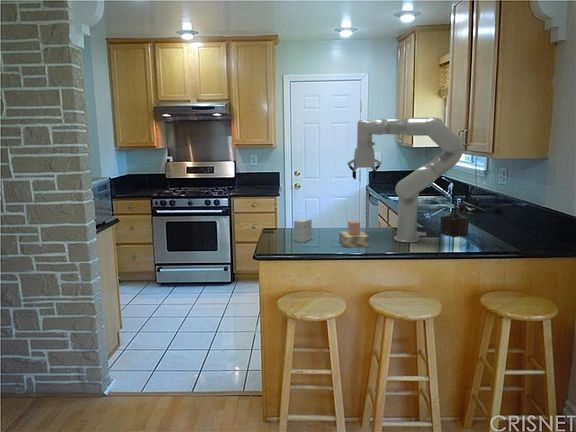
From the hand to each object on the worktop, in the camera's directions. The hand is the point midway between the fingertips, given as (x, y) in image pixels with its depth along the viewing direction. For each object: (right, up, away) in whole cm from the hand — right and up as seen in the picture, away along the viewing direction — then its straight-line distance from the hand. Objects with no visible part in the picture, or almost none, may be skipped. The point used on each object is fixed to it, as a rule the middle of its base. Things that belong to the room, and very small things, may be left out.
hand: (364, 178), depth 236 cm
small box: (-31, -32, 0) cm, 44 cm away
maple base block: (-7, -33, -9) cm, 35 cm away
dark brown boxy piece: (+50, -29, +6) cm, 58 cm away
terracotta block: (-7, -28, -10) cm, 30 cm away
